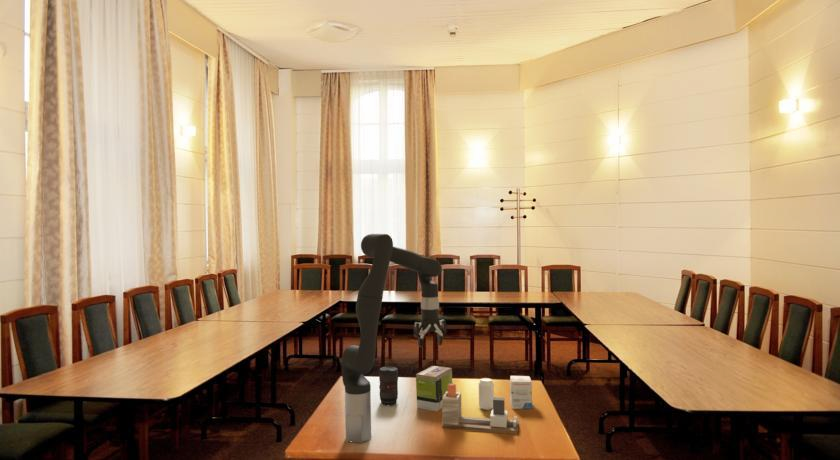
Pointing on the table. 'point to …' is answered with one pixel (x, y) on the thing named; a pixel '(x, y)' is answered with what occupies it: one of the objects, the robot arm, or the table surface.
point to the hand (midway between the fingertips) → (430, 345)
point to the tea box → (432, 387)
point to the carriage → (498, 413)
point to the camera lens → (388, 385)
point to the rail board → (482, 428)
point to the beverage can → (486, 393)
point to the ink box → (521, 392)
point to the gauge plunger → (451, 390)
